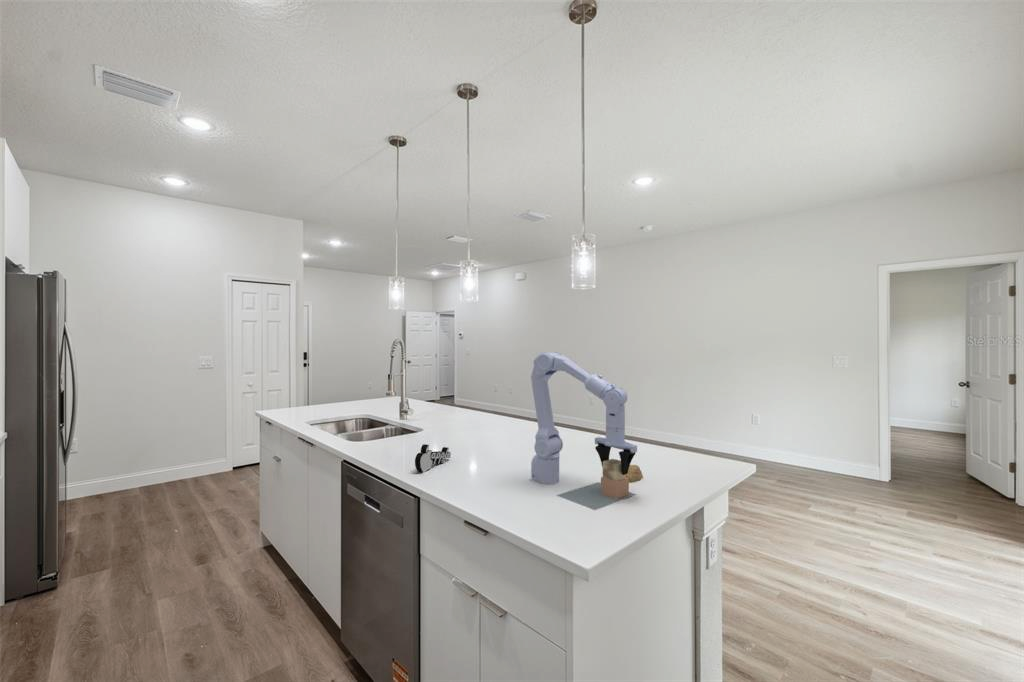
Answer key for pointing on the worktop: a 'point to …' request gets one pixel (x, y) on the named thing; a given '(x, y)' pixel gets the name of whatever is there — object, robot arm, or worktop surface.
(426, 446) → the logo
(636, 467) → the stone tool
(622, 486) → the terracotta brick
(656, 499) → the worktop surface
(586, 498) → the slate mat
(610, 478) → the maple block
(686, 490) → the worktop surface
